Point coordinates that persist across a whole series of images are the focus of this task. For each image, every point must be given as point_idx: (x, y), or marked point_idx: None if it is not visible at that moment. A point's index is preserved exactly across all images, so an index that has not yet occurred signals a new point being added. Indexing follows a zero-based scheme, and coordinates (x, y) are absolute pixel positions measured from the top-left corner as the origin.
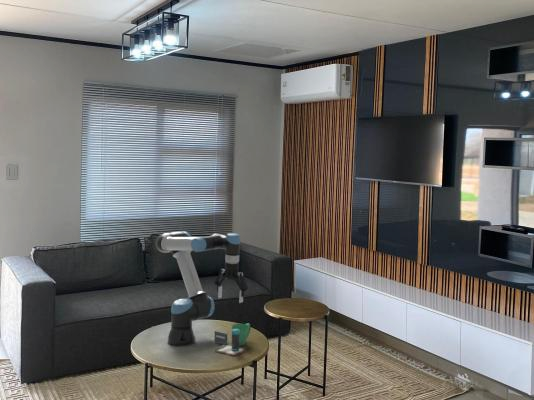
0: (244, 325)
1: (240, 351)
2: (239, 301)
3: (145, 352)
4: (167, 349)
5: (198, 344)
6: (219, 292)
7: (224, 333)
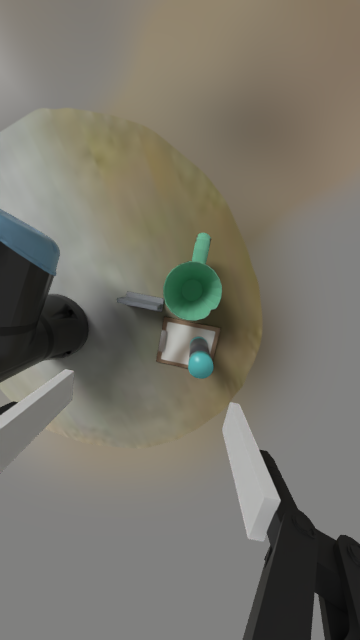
0: (196, 263)
1: (212, 346)
2: (225, 437)
3: None
4: None
5: (102, 330)
6: (39, 432)
7: (149, 308)
